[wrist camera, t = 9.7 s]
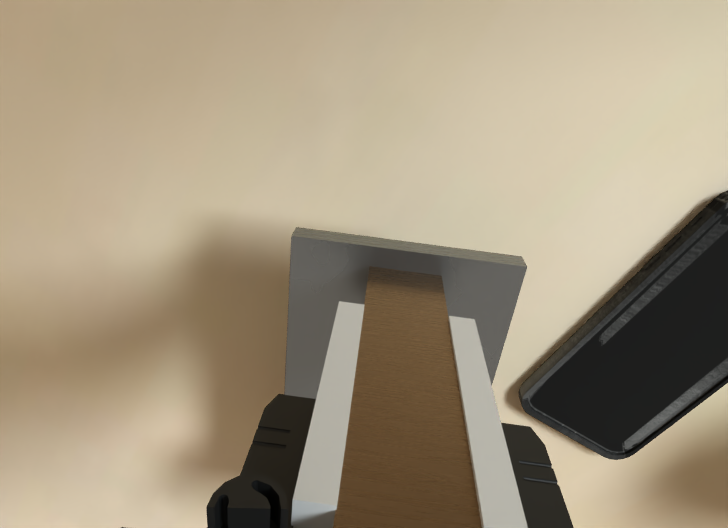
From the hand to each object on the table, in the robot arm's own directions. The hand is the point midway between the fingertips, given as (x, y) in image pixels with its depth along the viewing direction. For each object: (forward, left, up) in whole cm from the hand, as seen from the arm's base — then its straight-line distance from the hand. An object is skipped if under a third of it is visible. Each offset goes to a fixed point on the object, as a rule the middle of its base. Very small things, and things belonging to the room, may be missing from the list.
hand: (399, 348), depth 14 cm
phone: (+4, +14, -10) cm, 18 cm away
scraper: (+5, 0, -4) cm, 6 cm away
